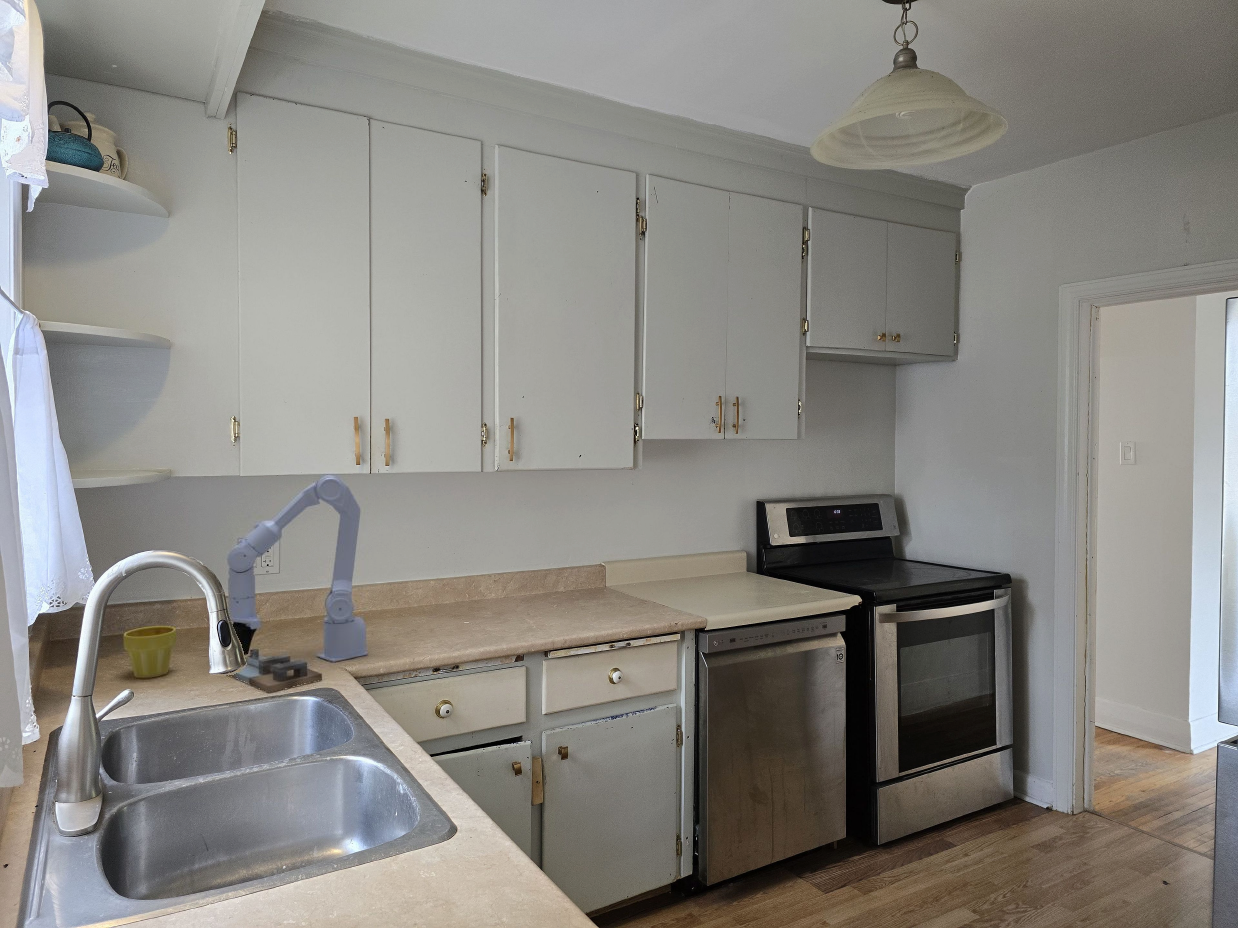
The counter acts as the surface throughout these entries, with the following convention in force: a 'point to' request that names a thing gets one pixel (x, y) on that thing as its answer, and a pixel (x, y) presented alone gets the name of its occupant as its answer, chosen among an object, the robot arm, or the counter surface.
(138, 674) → the plant pot
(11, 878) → the counter surface
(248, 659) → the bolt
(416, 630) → the counter surface
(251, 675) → the door and jamb
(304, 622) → the counter surface
